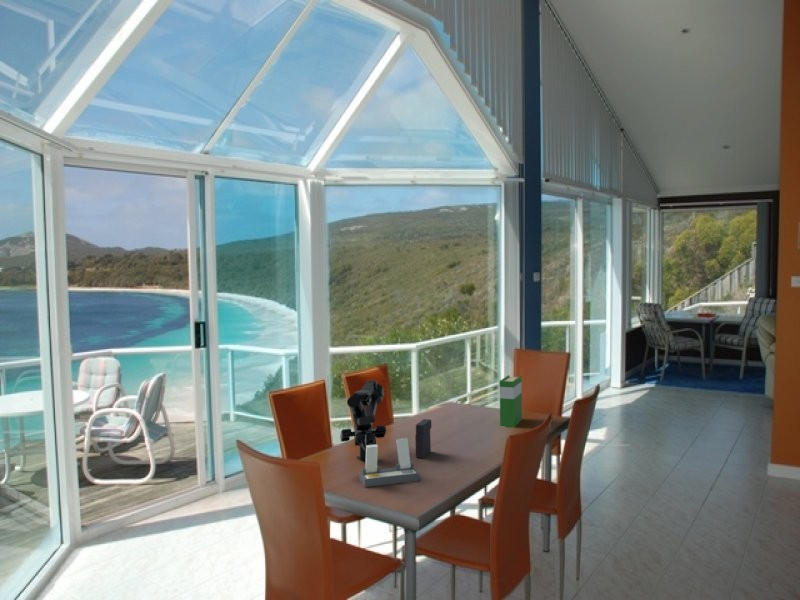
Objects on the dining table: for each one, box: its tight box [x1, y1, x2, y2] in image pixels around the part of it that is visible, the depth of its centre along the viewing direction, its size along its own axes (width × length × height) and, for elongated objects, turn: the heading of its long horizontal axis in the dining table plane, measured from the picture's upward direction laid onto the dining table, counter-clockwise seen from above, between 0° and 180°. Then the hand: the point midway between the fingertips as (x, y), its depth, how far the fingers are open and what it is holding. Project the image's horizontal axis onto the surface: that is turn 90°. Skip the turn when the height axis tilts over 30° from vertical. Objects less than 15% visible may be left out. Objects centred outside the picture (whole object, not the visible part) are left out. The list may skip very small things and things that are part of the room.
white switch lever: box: [364, 443, 379, 473], centre depth 250 cm, size 2×4×12 cm, turn 105°
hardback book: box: [499, 374, 523, 428], centre depth 336 cm, size 18×7×24 cm, turn 156°
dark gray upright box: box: [414, 418, 432, 459], centre depth 284 cm, size 11×4×15 cm, turn 159°
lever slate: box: [395, 437, 411, 469], centre depth 257 cm, size 2×4×12 cm, turn 105°
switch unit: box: [358, 461, 420, 488], centre depth 252 cm, size 10×22×5 cm, turn 106°
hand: (366, 451), depth 259 cm, fingers closed
